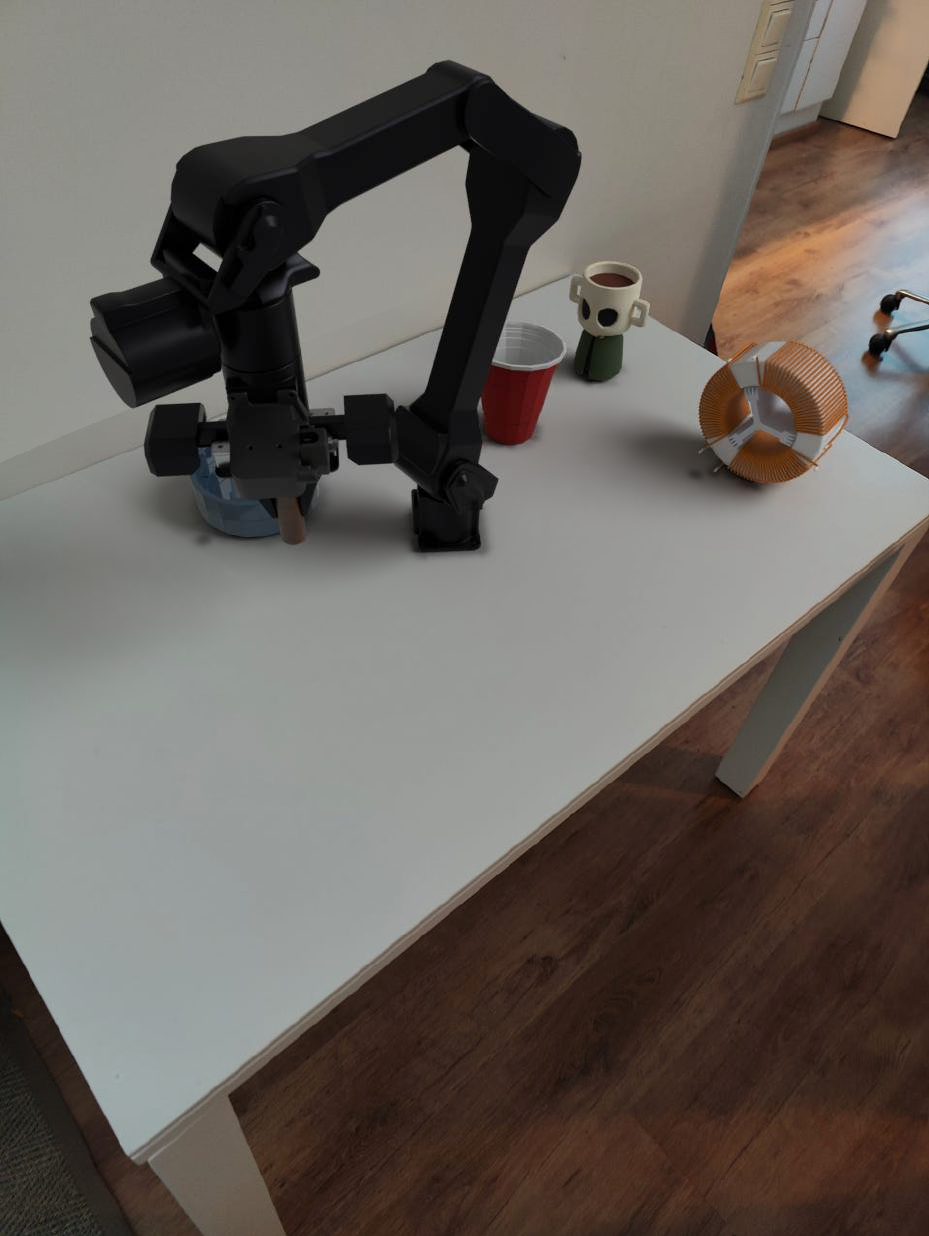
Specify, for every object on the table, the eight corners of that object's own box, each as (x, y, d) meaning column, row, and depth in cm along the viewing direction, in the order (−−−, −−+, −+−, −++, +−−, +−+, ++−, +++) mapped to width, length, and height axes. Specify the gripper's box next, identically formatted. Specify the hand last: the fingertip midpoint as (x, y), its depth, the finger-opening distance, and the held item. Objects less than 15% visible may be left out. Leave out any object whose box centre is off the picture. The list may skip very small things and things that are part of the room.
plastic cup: (571, 422, 100) (585, 333, 91) (527, 469, 94) (537, 378, 85) (495, 393, 104) (501, 303, 95) (448, 436, 98) (450, 345, 88)
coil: (709, 428, 100) (744, 315, 89) (823, 483, 94) (877, 369, 83) (679, 454, 97) (712, 340, 85) (796, 513, 90) (848, 398, 79)
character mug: (546, 367, 108) (558, 271, 98) (575, 344, 112) (589, 249, 102) (619, 398, 104) (638, 301, 94) (646, 373, 108) (667, 277, 98)
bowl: (320, 460, 94) (315, 424, 90) (318, 538, 86) (312, 502, 82) (206, 464, 93) (196, 428, 89) (192, 543, 85) (181, 507, 81)
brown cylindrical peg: (306, 526, 73) (293, 444, 66) (306, 544, 71) (293, 462, 64) (281, 528, 72) (265, 446, 65) (281, 545, 71) (264, 463, 64)
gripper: (104, 427, 52) (166, 592, 64) (400, 411, 54) (406, 575, 66) (129, 332, 59) (181, 497, 71) (389, 322, 61) (397, 484, 73)
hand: (289, 514), depth 70 cm, fingers closed on brown cylindrical peg, 2 cm apart
